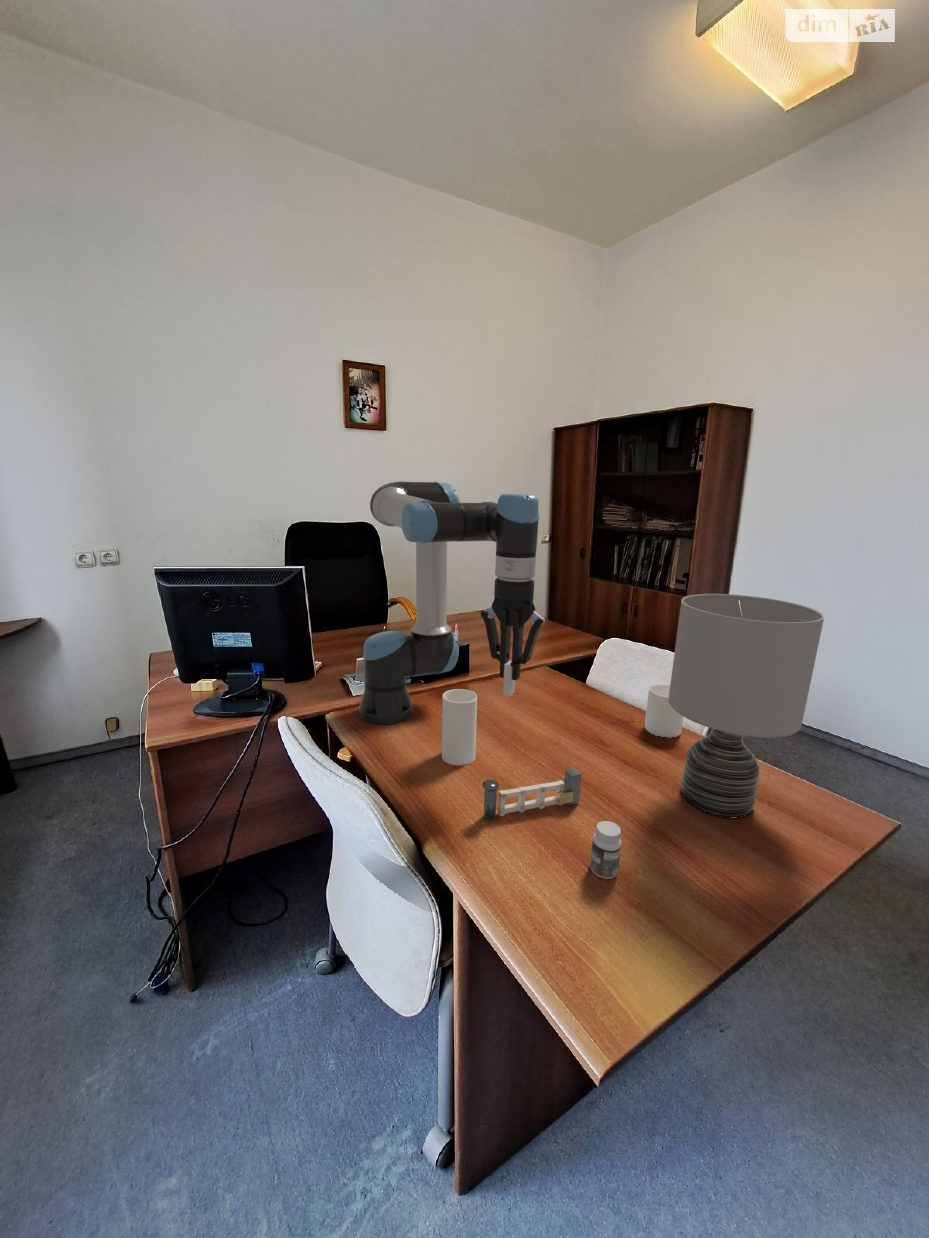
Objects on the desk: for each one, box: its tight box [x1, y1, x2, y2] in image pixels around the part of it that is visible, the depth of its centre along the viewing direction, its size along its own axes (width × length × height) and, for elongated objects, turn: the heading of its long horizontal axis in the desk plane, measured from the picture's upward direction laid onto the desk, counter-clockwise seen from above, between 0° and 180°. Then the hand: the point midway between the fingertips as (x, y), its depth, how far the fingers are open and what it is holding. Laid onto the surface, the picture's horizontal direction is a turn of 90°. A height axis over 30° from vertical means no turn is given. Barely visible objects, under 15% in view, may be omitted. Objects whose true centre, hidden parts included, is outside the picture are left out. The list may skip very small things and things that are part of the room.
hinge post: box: [482, 779, 500, 822], centre depth 99 cm, size 3×3×7 cm
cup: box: [441, 688, 478, 766], centre depth 121 cm, size 8×8×16 cm
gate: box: [497, 779, 565, 817], centre depth 102 cm, size 14×1×5 cm, turn 107°
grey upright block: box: [557, 768, 582, 807], centre depth 104 cm, size 3×5×7 cm, turn 108°
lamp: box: [668, 593, 825, 819], centre depth 102 cm, size 24×24×42 cm
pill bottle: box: [589, 820, 622, 880], centre depth 86 cm, size 5×5×8 cm
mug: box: [644, 684, 684, 739], centre depth 138 cm, size 10×12×12 cm
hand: (508, 693), depth 101 cm, fingers closed
